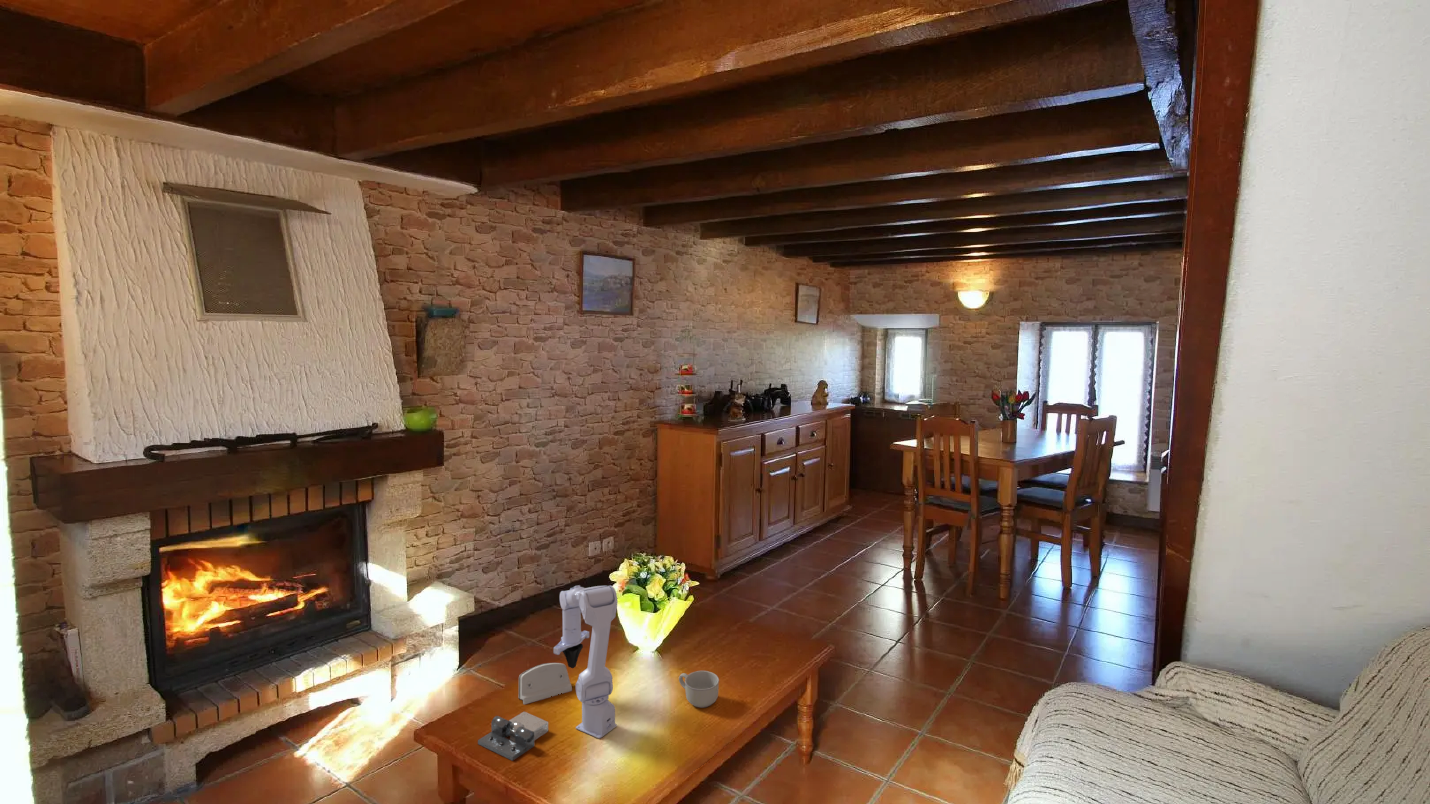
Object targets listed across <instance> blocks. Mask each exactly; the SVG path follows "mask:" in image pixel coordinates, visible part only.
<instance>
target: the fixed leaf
mask: <svg viewBox="0 0 1430 804" xmlns="http://www.w3.org/2000/svg"><path fill="white" fill-rule="evenodd" d="M490 725H491V731H490V732H489V733H488V734H485V735H484V736H482V737H481V738H479V739H477V744H478V745H479V746H481V747H483V748H484V749H487V750H489V751H491V752H493V753H495V754H497V755H499V756H502V757H504V758H506V759H508V760H510V761H512V762H513V761H515V760H516V759H518V758H519V757H521V756H522V755H523V754H525V753H527V752H528V751H530V750H531V749H532V748H534V747H535V740H534V732H533V731H531V730H528V729H526V728H524V727H522V726H520V727H519V728H518V729H517V730H516V732H515V742H514V741H512V740H510V738H508V737H510V722H509V720H508V719H506V718H503V717H502V716H499V715H495V716H494V717H493V718H492V720H491V724H490Z"/></svg>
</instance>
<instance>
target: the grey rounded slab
mask: <svg viewBox="0 0 1430 804" xmlns="http://www.w3.org/2000/svg"><path fill="white" fill-rule="evenodd" d="M572 691H573V688H572V683H571V681H570V677H569V673H568V669H567V666H566V665H565V664H564V663H561V662H547V663H541V664H537V665H535V666H533V667H530V668H528V669H527V670H525V671H523V672H522V673H520V674H519V676H518V699H519V700H522V704H523V705H528V704H531V703H534V702H538V701H542V700H545V699H549V698H552V697H555V696H559V695H562V694H565V693H569V692H572ZM561 693H562V694H561ZM558 694H559V695H558ZM551 696H552V697H551Z"/></svg>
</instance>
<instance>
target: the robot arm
mask: <svg viewBox="0 0 1430 804" xmlns="http://www.w3.org/2000/svg"><path fill="white" fill-rule="evenodd" d="M559 604H560V608H561V609H562V611H561V613H562V636H561V637H560V641H559V642H558V643H557V644H556V645H555V646H554V647H553V654H554V655H557V656H559V655H560V654H561V652H562V654H563V655H564V658H565V659H566V662H567V667H568V668H570V669H574V668H576V667H577V663H578V659H579V656H580V653H581V651H582V649H583V648H584V645H583V643H582V642H583V641H584V640H585V639H589V638H590V643H589V644H590V646H589V653H588V659H587V660H588V661H587V668H586V669H584V670H583V671H581V672H580V673H579V674H578V677H577V681H576V682H575V693H576V696H577V699H578V700H579V701H580V702H581V723H579V724H578V725H576V726H575V729H576V730H578V731H581V732H583V733H585V734H587V735H590V736H592V737H594V738H597V739H601V738H603V737H604V736H605V735H607V734H608V733H609V732H610V731H611V732H612V731H613V729H614V728H616V727H617V726H618V725H617V723H616V707H615V705H614V703H612V702H611V701H610V700H609V697H610V696H611V694H612V693H613V689H614V685H613V684H614V683H613V675H612V671H610V669H609V668H608V667H606V661H607V655H608V654H607V653H608V648H609V647H608V646H609V638H610V632H611V623H612V621H613V620H614V619H615V618H616V613H617V609H618V595H617V591H616V589H615V588H614V586H612V585H597V586H596V585H595V586H591V587H590V586H589V587H584V586H581V585H580V584H579V585H575V586H573V587H570V589H569V590H561V591H560V592H559ZM581 615H582V616H581ZM582 618H583V620H584V624H586V625H589V626H590V627H592V628H591V637H590V631H588V630H583V631H582V625H581V624H582Z"/></svg>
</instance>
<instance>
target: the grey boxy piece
mask: <svg viewBox="0 0 1430 804" xmlns="http://www.w3.org/2000/svg"><path fill="white" fill-rule="evenodd" d="M508 721H509V722H510V736H509V740H511V741H513V742H515V732H516V730H517V729H518V728H519V727H520V726H522V727H524V728H526V729H528V730H531V731H533V732H534V741H536V740H537V739H539V738H540V737H541V736H544V735H545V734H547V733H548V732H549V721H546V720H544V719H543V718H541V717H538V716H536V715H533V714H531V713H528V712H526V711H523V712H521V713H519V714H517V715H516V716H514V717H512V718H511V719H509V720H508Z"/></svg>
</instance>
